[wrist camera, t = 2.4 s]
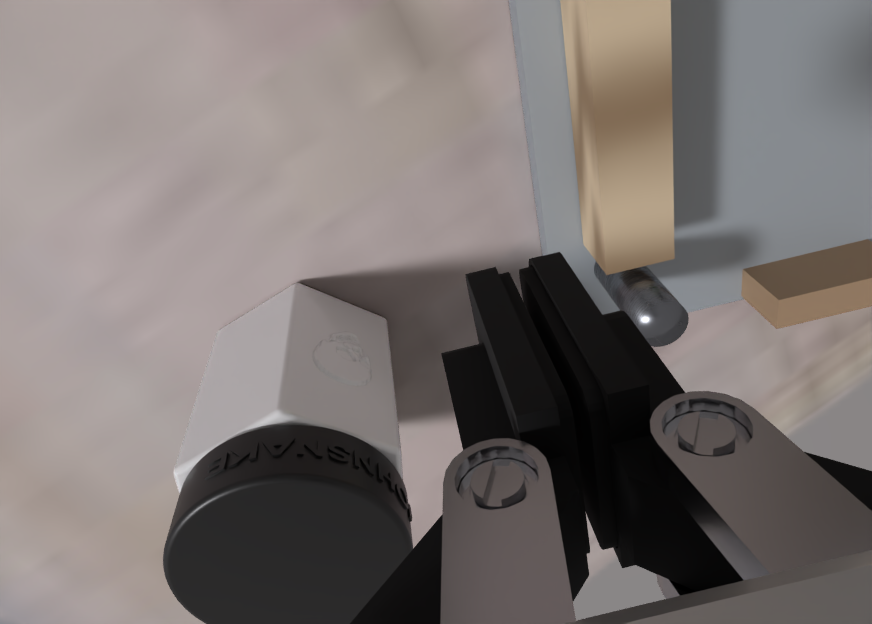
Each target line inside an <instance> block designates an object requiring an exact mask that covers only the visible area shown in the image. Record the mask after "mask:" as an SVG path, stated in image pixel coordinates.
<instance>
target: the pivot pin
mask: <svg viewBox="0 0 872 624" xmlns="http://www.w3.org/2000/svg"><path fill="white" fill-rule="evenodd" d="M594 273H595V276H596V278H597V279H598V281H599V282H600V283H601V285H602V286H603V288H604V289H605V290H606V292H607V293H608V294H609V296H610V297H611V299H612V300H613V301H614V303H615V304H616V306H617V307H618V308H619V310H621V311H625V312H626V313H627V315H628V316H629V317H630V318H631V320H632V321H633V322H634V324H635V325H636V326H637V328H638V329H639V331H640V332H641V333H642V335H643V336H644V337H645V339H646V340H647V341H648V343H649V344H650V346H654V347H659V346H665V345H668V344H670V343H672V342H674V341H675V340H677V339H678V338H679V337H680V336H681V335H682V334H683V333H684V331H685V330H686V328H687V325H688V313H687V311H686V310H685V308H684V307H683V306H682V305H681V304H680V303H679V302H678V300H677V299H676V298H675V297H674V296H673V295H672V294H671V293H670V291H669V290H668V289H667V288H666V287H665V286H664V285H663V284H662V283H661V281H660V280H659V279H658V278H657V277H656V276H655V275H654V274H653V273H652V271H651V270H650V269H649V268H648V267H647V266H643V267H639V268H634V269H630V270H626V271H622V272H618V273H614V274H609V275H606V274H605V272H604V271H603V270H602V268H601V267H600V266H599V264H598V263H597V262H595V265H594Z"/></svg>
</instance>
